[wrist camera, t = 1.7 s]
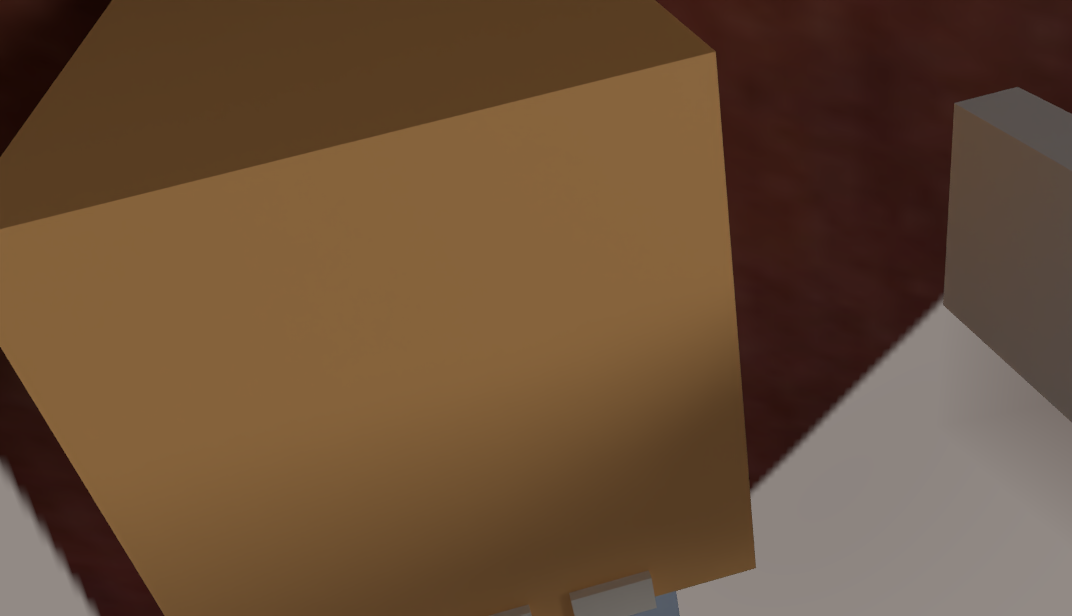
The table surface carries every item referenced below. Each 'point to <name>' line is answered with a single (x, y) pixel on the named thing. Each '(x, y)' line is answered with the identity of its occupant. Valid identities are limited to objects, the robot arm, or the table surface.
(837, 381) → the table surface
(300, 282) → the orange connector module
